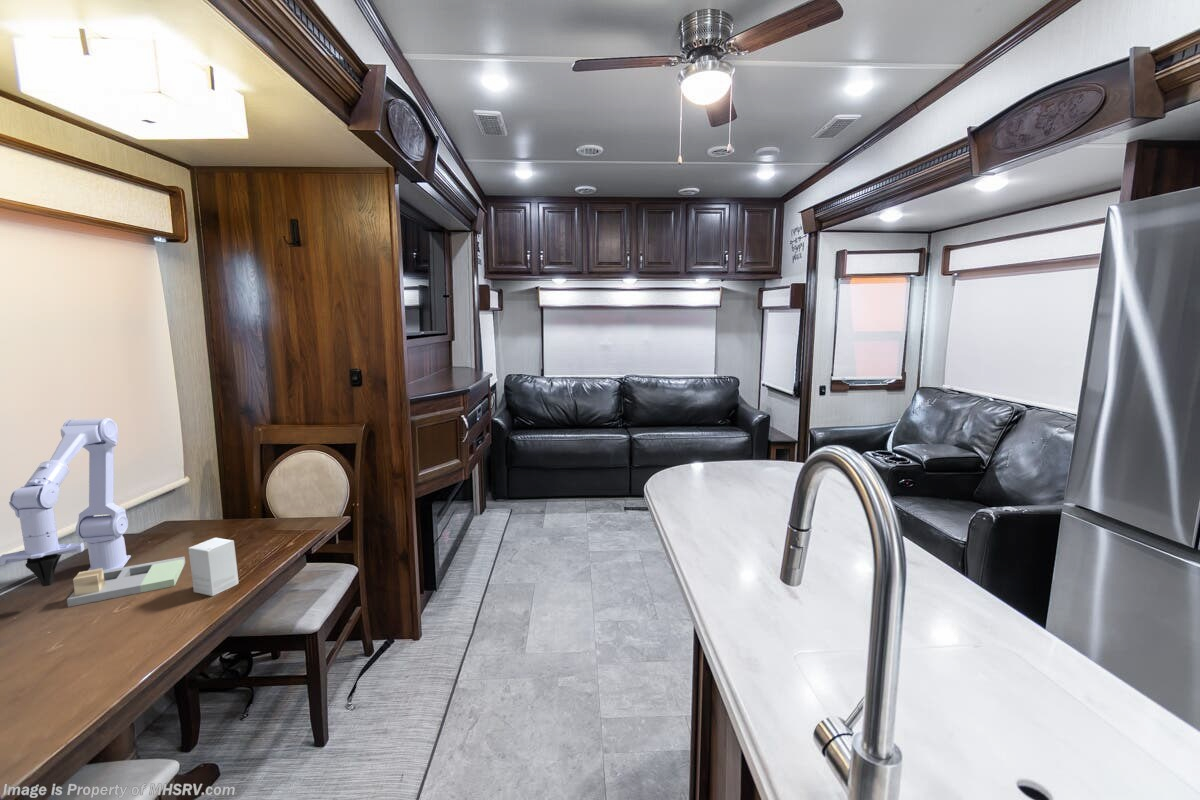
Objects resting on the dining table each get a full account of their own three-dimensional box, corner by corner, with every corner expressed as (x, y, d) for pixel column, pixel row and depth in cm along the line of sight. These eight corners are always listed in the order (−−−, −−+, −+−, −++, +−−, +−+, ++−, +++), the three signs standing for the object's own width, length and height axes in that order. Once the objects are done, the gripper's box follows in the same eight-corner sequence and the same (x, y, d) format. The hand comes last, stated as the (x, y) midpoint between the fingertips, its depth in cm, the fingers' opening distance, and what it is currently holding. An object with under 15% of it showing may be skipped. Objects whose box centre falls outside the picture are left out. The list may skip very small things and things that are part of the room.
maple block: (81, 588, 134) (79, 572, 134) (104, 584, 137) (102, 568, 136) (75, 596, 131) (72, 579, 130) (99, 591, 133) (97, 575, 132)
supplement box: (239, 583, 141) (235, 540, 139) (212, 597, 134) (206, 551, 132) (220, 579, 143) (216, 536, 142) (192, 592, 136) (187, 547, 135)
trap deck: (89, 580, 143) (88, 573, 142) (185, 562, 153) (184, 556, 153) (68, 607, 129) (66, 599, 129) (174, 585, 140) (173, 579, 139)
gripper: (-12, 544, 120) (-2, 599, 122) (74, 532, 128) (81, 583, 129) (3, 534, 126) (12, 586, 128) (84, 523, 134) (91, 572, 135)
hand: (47, 584), depth 129 cm, fingers closed
